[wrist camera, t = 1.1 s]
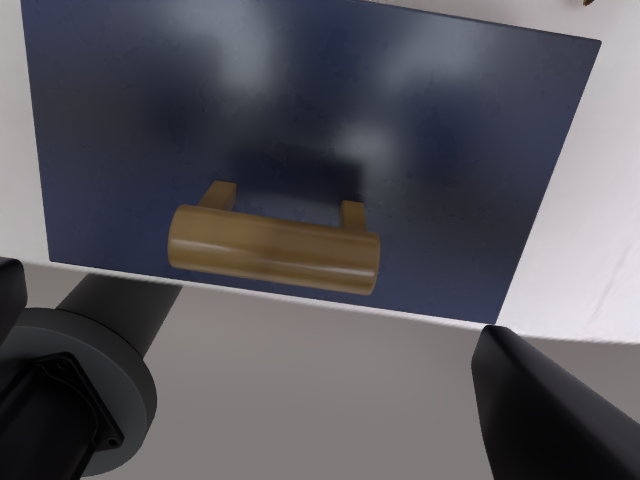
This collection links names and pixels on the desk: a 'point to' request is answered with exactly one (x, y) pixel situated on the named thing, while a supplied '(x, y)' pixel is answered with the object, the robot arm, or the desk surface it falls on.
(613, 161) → the desk surface
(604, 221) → the desk surface
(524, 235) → the lid
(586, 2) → the shard
